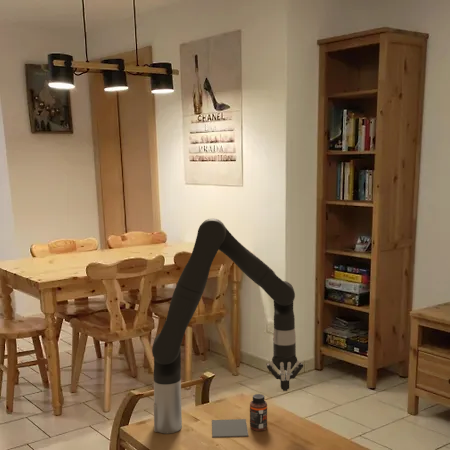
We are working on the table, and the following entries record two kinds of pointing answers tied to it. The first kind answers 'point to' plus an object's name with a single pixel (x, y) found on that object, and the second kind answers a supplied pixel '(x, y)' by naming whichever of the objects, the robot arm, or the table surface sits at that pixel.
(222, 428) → the mat
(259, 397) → the supplement bottle
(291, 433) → the table surface
